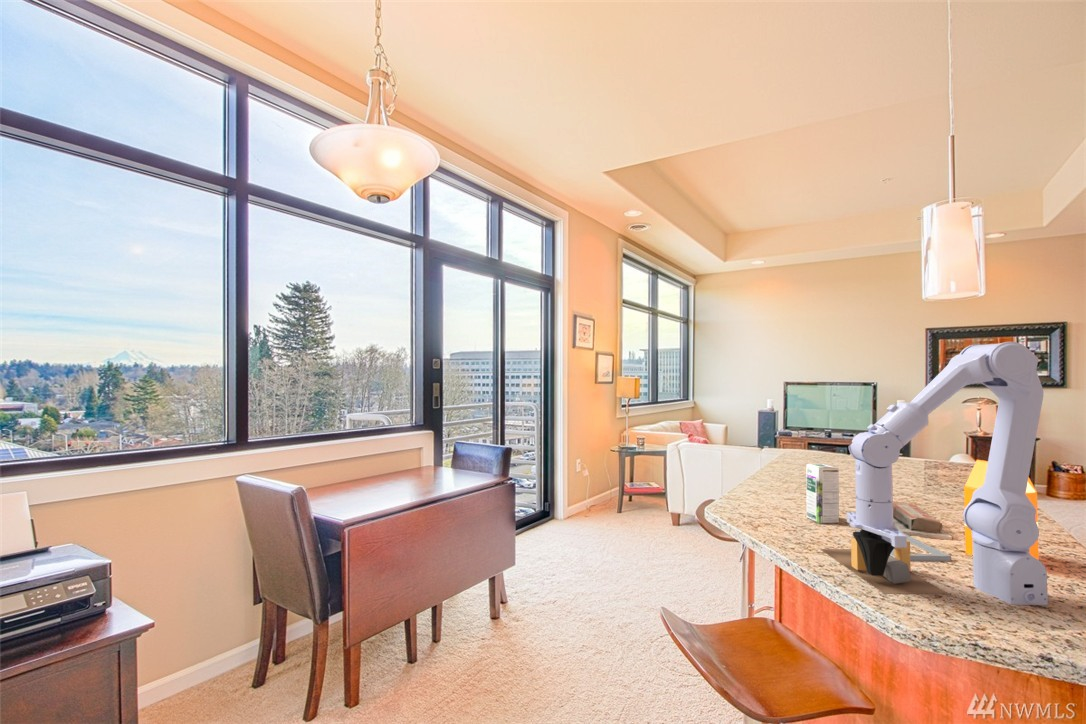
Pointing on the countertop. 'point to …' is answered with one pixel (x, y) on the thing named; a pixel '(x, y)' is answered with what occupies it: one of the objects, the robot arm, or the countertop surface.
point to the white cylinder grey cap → (896, 571)
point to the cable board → (881, 582)
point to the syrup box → (822, 493)
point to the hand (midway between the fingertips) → (875, 574)
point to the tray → (935, 555)
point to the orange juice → (977, 481)
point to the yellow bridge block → (858, 558)
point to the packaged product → (917, 522)
